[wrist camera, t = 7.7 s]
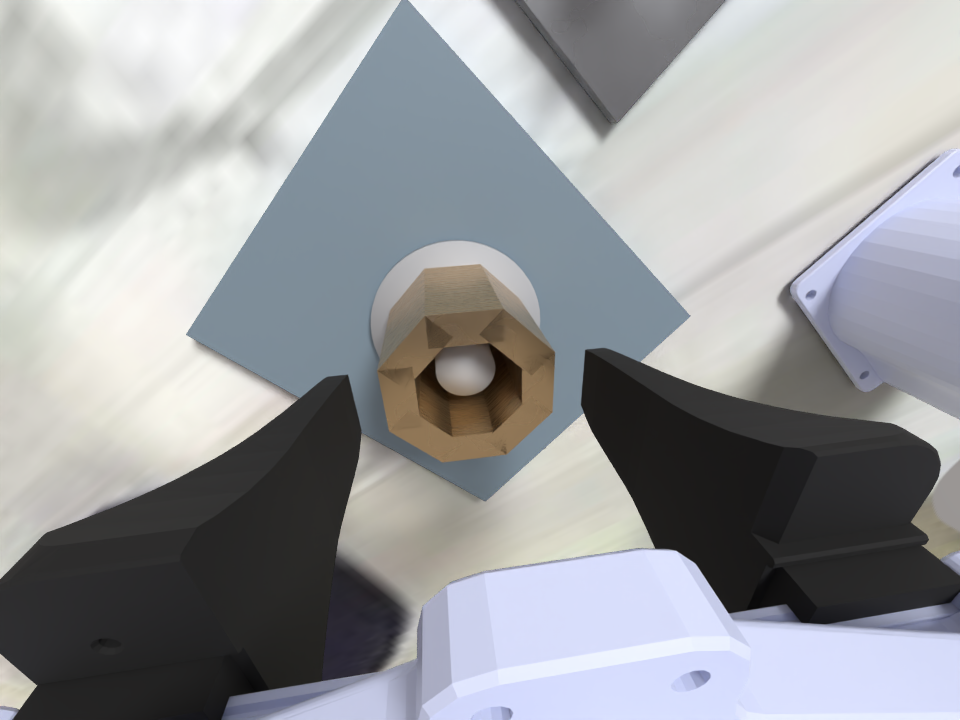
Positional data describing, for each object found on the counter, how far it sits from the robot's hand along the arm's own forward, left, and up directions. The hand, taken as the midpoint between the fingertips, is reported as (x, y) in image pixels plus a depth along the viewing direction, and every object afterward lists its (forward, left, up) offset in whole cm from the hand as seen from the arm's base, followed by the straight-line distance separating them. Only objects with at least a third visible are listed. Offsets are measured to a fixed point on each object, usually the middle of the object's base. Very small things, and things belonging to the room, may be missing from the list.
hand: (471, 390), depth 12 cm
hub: (0, 0, -6) cm, 6 cm away
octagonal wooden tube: (0, 0, -5) cm, 5 cm away
